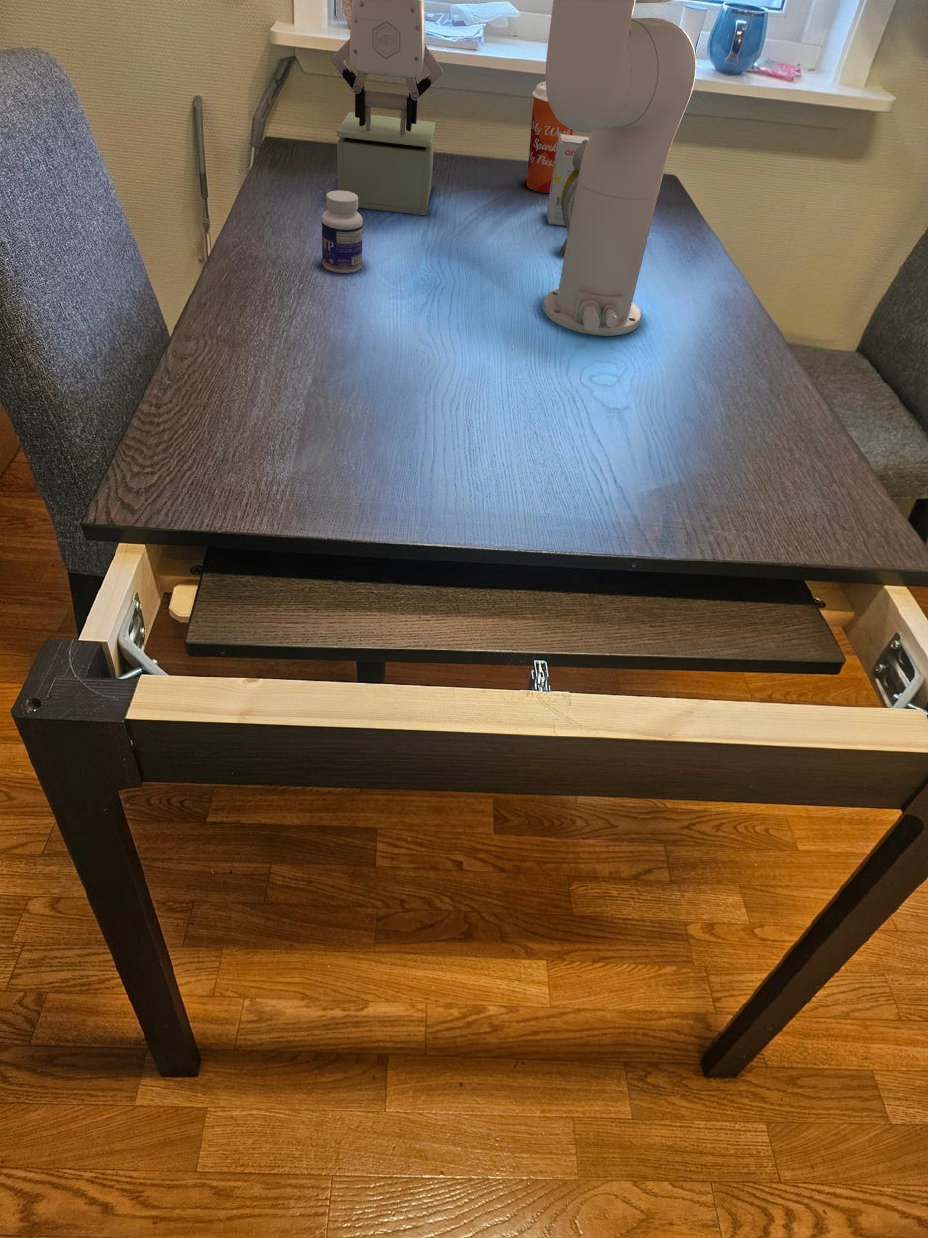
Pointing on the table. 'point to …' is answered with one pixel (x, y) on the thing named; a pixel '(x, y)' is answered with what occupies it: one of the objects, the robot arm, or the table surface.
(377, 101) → the bin lid
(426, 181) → the bin
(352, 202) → the pill bottle
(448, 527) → the table surface
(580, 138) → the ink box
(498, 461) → the table surface
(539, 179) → the coffee cup
